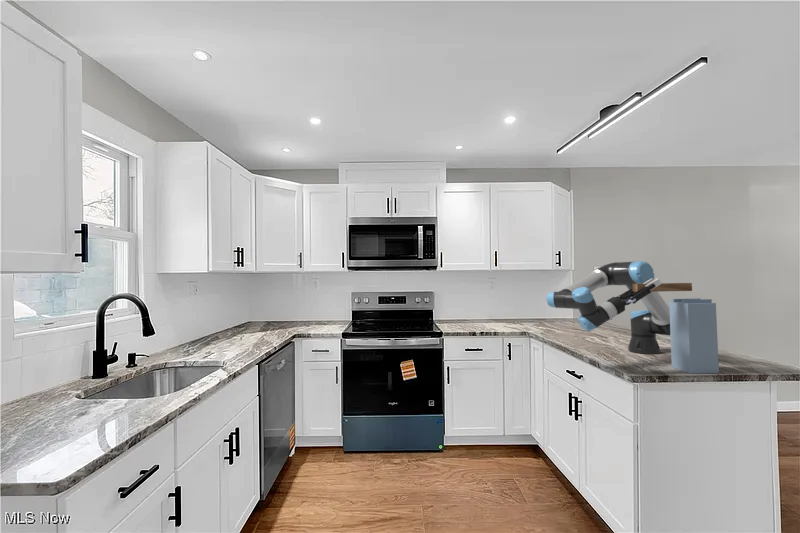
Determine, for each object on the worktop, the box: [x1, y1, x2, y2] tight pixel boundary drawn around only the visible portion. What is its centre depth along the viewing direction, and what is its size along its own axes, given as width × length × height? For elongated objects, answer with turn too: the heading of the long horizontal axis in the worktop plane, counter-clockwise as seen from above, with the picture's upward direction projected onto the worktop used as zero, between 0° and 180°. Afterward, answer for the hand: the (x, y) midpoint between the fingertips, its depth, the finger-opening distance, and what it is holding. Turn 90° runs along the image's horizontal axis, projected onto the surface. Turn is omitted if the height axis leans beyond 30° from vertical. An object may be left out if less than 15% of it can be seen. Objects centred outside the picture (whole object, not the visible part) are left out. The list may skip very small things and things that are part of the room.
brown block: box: [633, 282, 693, 293], centre depth 174 cm, size 4×24×4 cm, turn 89°
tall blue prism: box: [668, 297, 720, 374], centre depth 174 cm, size 12×12×32 cm
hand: (656, 281), depth 174 cm, fingers closed on brown block, 3 cm apart
